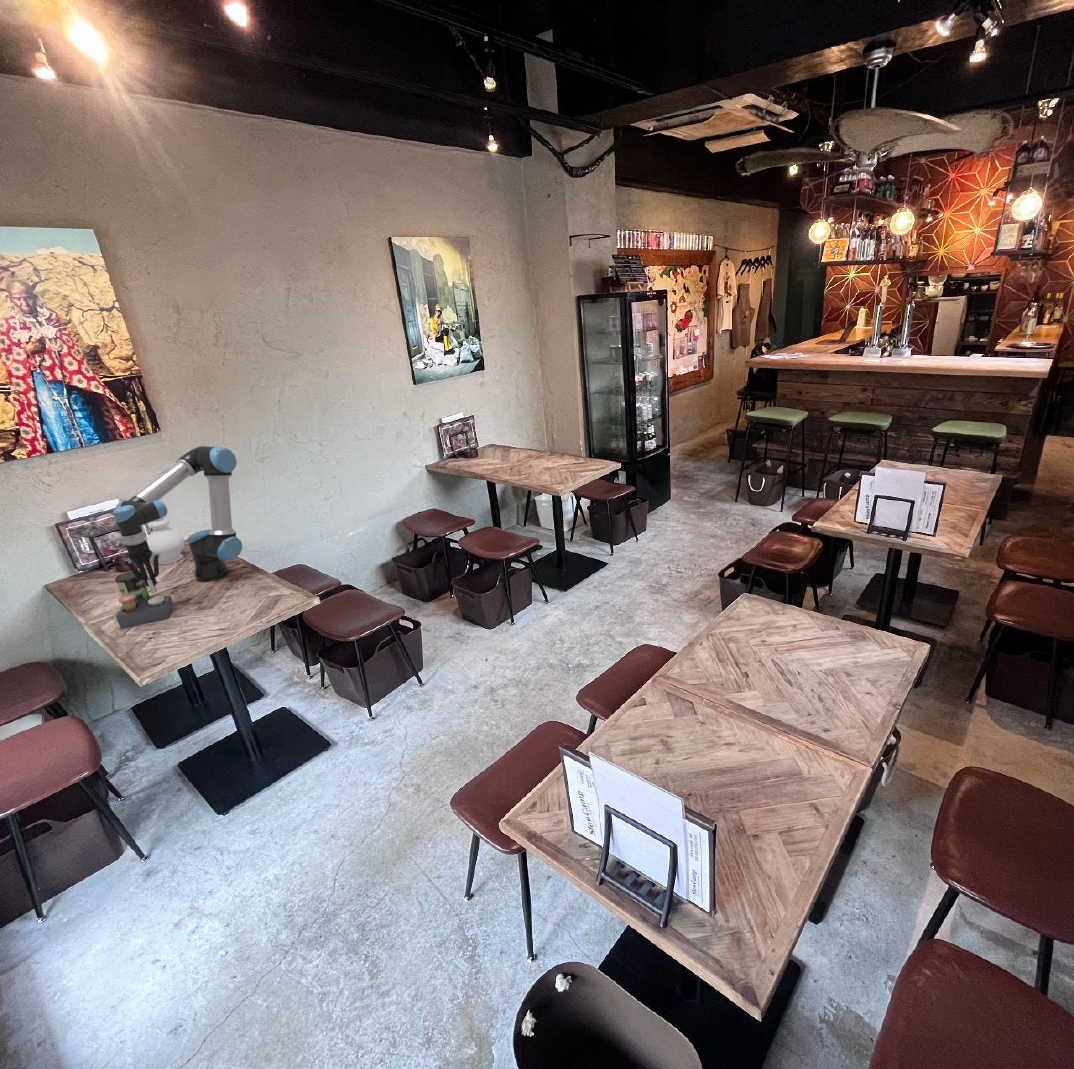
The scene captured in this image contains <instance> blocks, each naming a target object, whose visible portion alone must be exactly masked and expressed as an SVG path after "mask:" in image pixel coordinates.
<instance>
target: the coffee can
mask: <svg viewBox="0 0 1074 1069" xmlns="http://www.w3.org/2000/svg"><path fill="white" fill-rule="evenodd" d="M138 571H139V572H140V570H138ZM140 573H141V572H140ZM114 582H115V583H116V585H117V588H118V591H119V593H120V596H121V597H122V596H124V595H128V594H135V597H136V598H135V599H134V601H135V602H137V601H142V600H147V599H151V598H152V597H151V595H150V593H149V590H148V588H147V586H146V584H145V581H144V580H138V579H137V577H136V576H135V575H134V573H133V572H132V571H128V572H124V573H122V574H119V575H118V576H116V577H115V578H114Z"/></svg>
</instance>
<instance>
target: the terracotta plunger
mask: <svg viewBox="0 0 1074 1069" xmlns="http://www.w3.org/2000/svg"><path fill="white" fill-rule="evenodd" d="M135 598H136V597H135V594H128V595H124V596H121V597H118V602H119V604H122V606H123V607H124V610H125V611H130V610H135V609H136V608H137V606H136V603H135V601H134V599H135Z"/></svg>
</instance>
